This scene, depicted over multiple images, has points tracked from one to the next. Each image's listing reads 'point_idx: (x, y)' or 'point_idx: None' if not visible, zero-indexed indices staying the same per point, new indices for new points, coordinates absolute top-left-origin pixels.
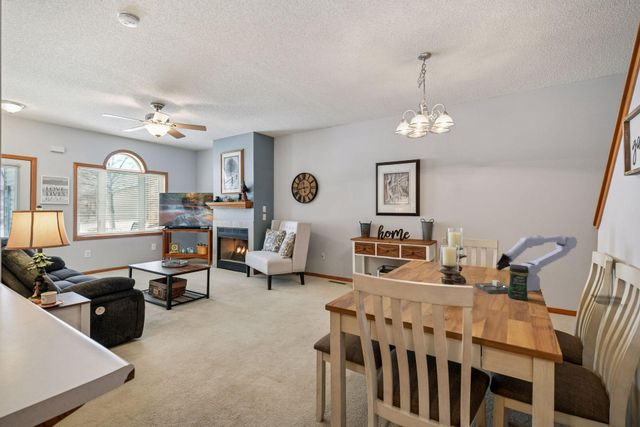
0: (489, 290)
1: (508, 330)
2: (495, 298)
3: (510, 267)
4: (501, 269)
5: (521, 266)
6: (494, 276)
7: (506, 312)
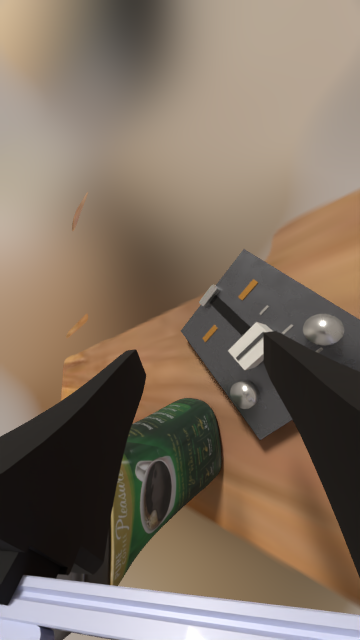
0: (184, 334)
1: (73, 389)
2: (158, 361)
3: None
4: (278, 386)
5: None
6: None
7: None
